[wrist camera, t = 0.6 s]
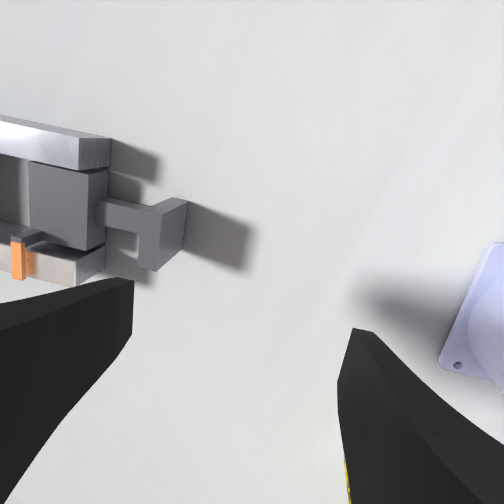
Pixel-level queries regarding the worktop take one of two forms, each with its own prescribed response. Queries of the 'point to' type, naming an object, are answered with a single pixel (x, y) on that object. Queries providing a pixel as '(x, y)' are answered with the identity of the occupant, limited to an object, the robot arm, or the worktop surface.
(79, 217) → the grey hook
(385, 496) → the robot arm
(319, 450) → the worktop surface
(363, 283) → the worktop surface
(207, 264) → the worktop surface
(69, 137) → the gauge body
